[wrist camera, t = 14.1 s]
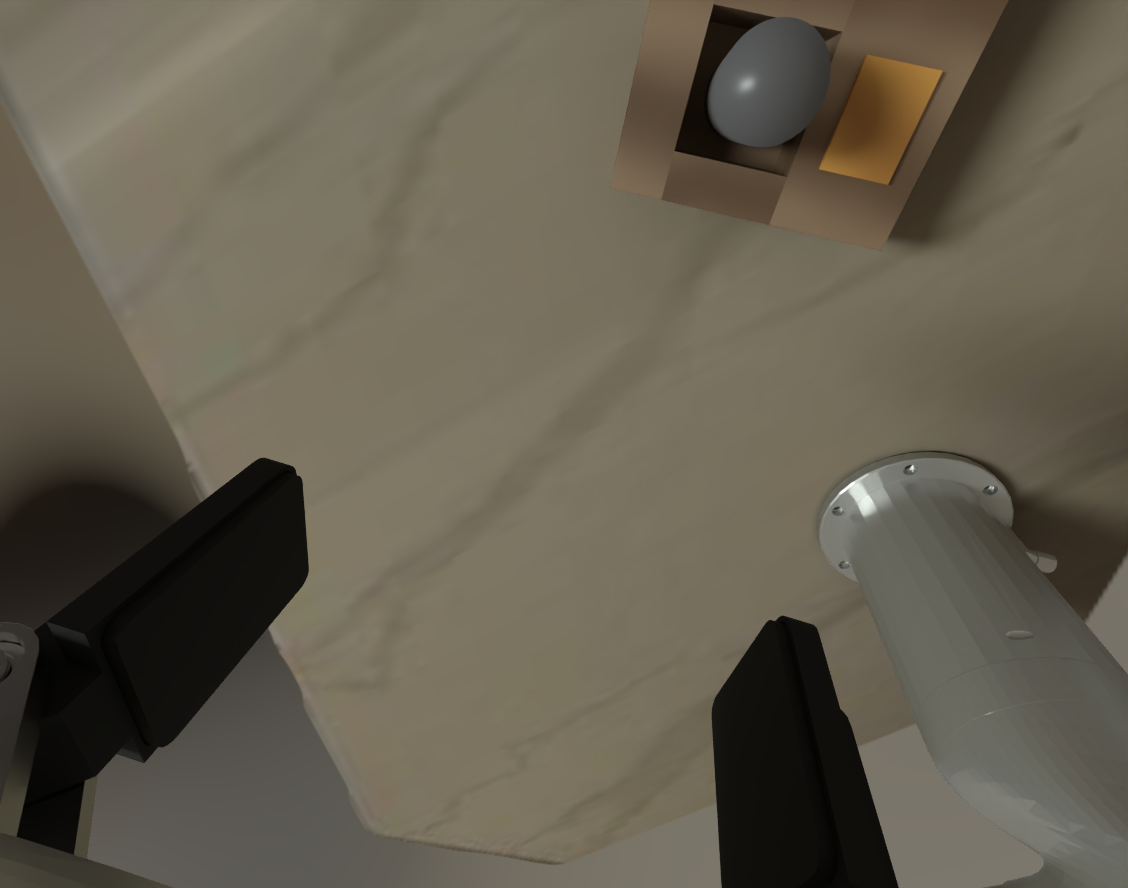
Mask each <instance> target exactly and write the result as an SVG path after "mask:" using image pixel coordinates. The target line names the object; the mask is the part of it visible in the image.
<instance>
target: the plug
mask: <svg viewBox="0 0 1128 888" xmlns="http://www.w3.org/2000/svg"><path fill="white" fill-rule="evenodd" d="M830 74H831V62H830V56H829V52H828V48H827V45H826V43H825V41H824V39H823V38H822V36H821V35H820V33H819V32H818V31H817V30H816V29H815V28H814V27H813V26H812V25H810V24H809V23H807V22H805V21H803V20H801V19H797V18H793V17H778V18H773V19H770V20H767V21H764V22H762V23H760V24H758V25H756V26H755V27H753V28H752V29H750V30H749V31H748V32H747V33H745V34H744V35H743V36H742V37H741V38H740V39H739V40H738V41H737V43H736V44H735V45H734V46H733V48H732V49H731V50H730V52H729V53H728V54H727V56H726V57H725V58H724V59H723V61H722V62H721V63H720V65H719V66H718V67H717V69H716V70H715V71H714V73H713V75H712V76H711V78H710V80H709V83H708V85H707V88H706V92H705V98H704V109H705V115H706V119H707V121H708V124H709V125H710V127H711V129H712V130H713V131H714V132H715V133H716V134H717V135H718V136H720V137H721V138H723V139H725V140H728V141H732V142H736V143H740V144H744V145H748V146H752V147H771V146H775V145H779V144H781V143H784V142H786V141H788V140H790V139H791V138H793V137H795V136H796V135H797V134H799V133H800V132H801V131H802V130H803V129H804V128H805V127H806V126H807V125H808V124H809V123H810V122H811V121H812V120H813V118H814V117H815V115H816V114H817V112H818V111H819V109H820V107H821V105H822V103H823V101H824V99H825V96H826V93H827V90H828V86H829V82H830Z"/></svg>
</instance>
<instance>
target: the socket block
mask: <svg viewBox="0 0 1128 888" xmlns="http://www.w3.org/2000/svg"><path fill="white" fill-rule="evenodd" d="M1008 1H1009V0H650V4H649V9H648V14H647V18H646V23H645V27H644V32H643V37H642V41H641V46H640V51H639V55H638V60H637V65H636V69H635V74H634V79H633V83H632V88H631V93H630V97H629V102H628V107H627V111H626V116H625V120H624V125H623V130H622V134H621V139H620V144H619V148H618V153H617V158H616V162H615V167H614V172H613V176H612V181H611V186H610V188H614V189H618V190H622V191H626V192H631V193H635V194H639V195H644V196H648V197H652V198H656V199H661V200H665V201H669V202H673V203H678V204H682V205H686V206H691V207H695V208H699V209H703V210H708V211H712V212H716V213H721V214H725V215H729V216H733V217H738V218H742V219H746V220H750V221H755V222H759V223H763V224H768V225H772V226H776V227H780V228H785V229H789V230H793V231H798V232H802V233H806V234H810V235H815V236H819V237H823V238H827V239H832V240H836V241H840V242H845V243H849V244H853V245H857V246H862V247H866V248H870V249H875V250H879V251H881V250H882V249H883V247H884V245H885V243H886V241H887V239H888V237H889V235H890V233H891V231H892V229H893V227H894V225H895V223H896V221H897V219H898V217H899V215H900V213H901V211H902V209H903V207H904V205H905V203H906V201H907V199H908V197H909V195H910V193H911V191H912V189H913V188H914V186H915V184H916V182H917V180H918V178H919V176H920V174H921V172H922V170H923V168H924V166H925V164H926V162H927V160H928V158H929V156H930V154H931V152H932V150H933V148H934V146H935V144H936V142H937V140H938V138H939V136H940V134H941V132H942V130H943V129H944V127H945V125H946V123H947V121H948V119H949V117H950V115H951V113H952V111H953V109H954V107H955V105H956V103H957V101H958V99H959V97H960V95H961V93H962V91H963V89H964V87H965V85H966V83H967V81H968V79H969V77H970V75H971V73H972V71H973V69H974V68H975V66H976V64H977V62H978V60H979V58H980V56H981V54H982V52H983V50H984V48H985V46H986V44H987V42H988V40H989V38H990V36H991V34H992V32H993V30H994V28H995V26H996V24H997V22H998V20H999V18H1000V16H1001V14H1002V12H1003V10H1004V8H1005V7H1006V5H1007V3H1008ZM778 17H793V18H797V19H801V20H803V21H805V22H807V23H809V24H810V25H812V26H813V27H814V28H815V29H816V30H817V31H818V32H819V33H820V35H821V36H822V38H823V39H824V41H825V43H826V45H827V48H828V52H829V56H830V62H831V74H830V82H829V86H828V90H827V93H826V96H825V99H824V101H823V103H822V105H821V107H820V109H819V111H818V112H817V114H816V115H815V117H814V118H813V120H812V121H811V122H810V123H809V124H808V125H807V126H806V127H805V128H804V129H803V130H802V131H801V132H800V133H799V134H797V135H796V136H795V137H793V138H791V139H790V140H788V141H786V142H784V143H781V144H779V145H775V146H771V147H752V146H748V145H744V144H740V143H736V142H732V141H728V140H725V139H723V138H721V137H720V136H718V135H717V134H716V133H715V132H714V131H713V130H712V129H711V127H710V125H709V124H708V121H707V119H706V115H705V109H704V98H705V92H706V88H707V85H708V83H709V80H710V78H711V76H712V75H713V73H714V71H715V70H716V69H717V67H718V66H719V65H720V63H721V62H722V61H723V59H724V58H725V57H726V56H727V54H728V53H729V52H730V50H731V49H732V48H733V46H734V45H735V44H736V43H737V41H738V40H739V39H740V38H741V37H742V36H743V35H744V34H745V33H747V32H748V31H749V30H750V29H752V28H753V27H755V26H756V25H758V24H760V23H762V22H764V21H767V20H770V19H773V18H778Z"/></svg>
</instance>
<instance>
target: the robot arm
mask: <svg viewBox="0 0 1128 888" xmlns="http://www.w3.org/2000/svg"><path fill="white" fill-rule="evenodd" d="M1013 515H1014V509H1013V504H1012V500H1011V497H1010V495H1009V493H1008V491H1007V490H1006V488H1005V486H1004V485H1003V484H1002V483H1001V482H1000V481H999V480H998V479H997V477H996V476H995V475H994V474H993V473H991V472H990V471H989V470H987V469H986V468H985V467H983V466H982V465H981V464H978V463H976V462H974V461H972V460H970V459H968V458H965V457H961V456H957V455H953V454H949V453H938V452H917V453H907V454H902V455H897V456H892V457H889V458H886V459H883V460H880V461H877V462H874V463H872V464H870V465H868V466H866V467H864V468H862V469H860V470H858V471H856V472H855V473H853V474H852V475H850V476H849V477H848V478H846V479H845V480H843V481H842V482H841V483H840V484H839V485H838V486H837V487H836V488H835V489H834V490H833V491H832V492H831V493H830V495H829V496H828V498H827V499H826V501H825V502H824V504H823V506H822V508H821V511H820V513H819V516H818V522H817V534H818V540H819V543H820V546H821V549H822V552H823V554H824V555H825V557H826V559H827V560H828V562H829V563H830V564H831V565H832V566H833V568H834V569H835V570H837V571H838V572H839V573H841V574H842V575H844V576H845V577H847V578H848V579H851V580H853V581H855V582H857V583H859V585H860V588H861V590H862V593H863V595H864V598H865V600H866V602H867V605H868V607H869V610H870V612H871V615H872V617H873V619H874V622H875V624H876V627H877V629H878V632H879V634H880V636H881V639H882V641H883V644H884V646H885V649H886V651H887V653H888V656H889V658H890V661H891V663H892V666H893V668H894V670H895V673H896V675H897V678H898V680H899V683H900V685H901V687H902V690H903V692H904V695H905V697H906V700H907V702H908V704H909V707H910V709H911V712H912V714H913V716H914V719H915V721H916V724H917V726H918V728H919V730H920V733H921V735H922V737H923V740H924V742H925V745H926V747H927V750H928V752H929V754H930V756H931V758H932V760H933V762H934V764H935V766H936V767H937V769H938V770H939V772H940V773H941V775H942V776H943V778H944V780H945V781H946V782H947V783H948V784H949V786H950V787H951V788H952V789H953V791H954V792H955V793H956V794H957V795H958V796H959V797H960V798H961V799H962V800H963V801H964V802H965V803H967V804H968V805H969V806H970V807H971V808H972V809H973V810H975V811H976V812H977V813H978V814H980V815H981V816H982V817H984V818H985V819H986V820H988V821H989V822H991V823H992V824H994V825H995V826H996V827H998V828H999V829H1001V830H1002V831H1004V832H1005V833H1007V834H1008V835H1010V836H1011V837H1013V838H1014V839H1016V840H1018V841H1019V842H1021V843H1022V844H1024V845H1026V846H1027V847H1029V848H1030V849H1032V850H1033V851H1035V852H1037V853H1038V854H1040V855H1041V857H1042V858H1043V861H1044V865H1043V867H1042V868H1041V870H1040V871H1039V872H1037V873H1035V874H1033V875H1030V876H1026V877H1022V878H1018V879H1014V880H1009V881H1006V882H1004V883H1003V884H1001V885H996V886H990V887H984V888H1128V674H1127V673H1126V672H1125V671H1124V669H1123V668H1122V667H1121V666H1120V665H1119V663H1118V662H1117V661H1116V660H1115V659H1114V658H1113V656H1112V655H1111V654H1110V653H1109V651H1108V650H1107V649H1106V648H1105V647H1104V646H1103V644H1102V643H1101V642H1100V641H1099V640H1098V638H1097V637H1096V636H1095V635H1094V634H1093V632H1092V631H1091V630H1090V629H1089V628H1088V626H1087V625H1086V624H1085V623H1084V622H1083V620H1082V619H1081V618H1080V617H1079V616H1078V614H1077V613H1076V612H1075V611H1074V610H1073V609H1072V607H1071V606H1070V605H1069V604H1068V603H1067V601H1066V600H1065V599H1064V598H1063V597H1062V595H1061V594H1060V593H1059V592H1058V591H1057V589H1056V588H1055V587H1054V586H1053V585H1052V583H1051V582H1050V581H1049V580H1048V579H1047V577H1046V576H1045V575H1044V574H1043V573H1051V572H1053V571H1054V570H1055V568H1056V567H1057V560H1056V558H1055V556H1053V555H1052V554H1049V553H1045V552H1041V551H1037V550H1033V549H1027V547H1026V546H1025V545H1024V544H1023V543H1022V542H1021V540H1020V539H1019V538H1018V537H1017V536H1016V535H1015V533H1014V532H1013V531H1012V530H1011V527H1012V524H1013ZM308 572H309V565H308V551H307V538H306V524H305V510H304V497H303V483H302V478H301V477H300V476H297V474H296V470H295V468H294V467H293V466H290V465H287V464H284V463H280V462H277V461H274V460H270V459H267V458H260V459H258V460H256V461H254V462H253V463H252V464H251V465H249V466H248V467H247V468H245V469H244V470H243V471H241V472H240V473H239V474H238V475H236V476H235V477H234V478H232V479H231V480H230V481H228V482H227V483H226V484H225V485H223V486H222V487H221V488H219V489H218V490H217V491H216V492H214V493H213V494H212V495H210V496H209V497H208V498H206V499H205V500H204V501H203V502H201V503H200V504H199V505H197V506H196V507H195V508H193V509H192V510H191V511H190V512H188V513H187V514H186V515H185V516H183V517H182V518H180V519H179V520H178V521H177V522H175V523H174V524H173V525H171V526H170V527H169V528H167V529H166V530H165V531H164V532H162V533H161V534H160V535H158V536H157V537H156V538H154V539H153V540H152V541H151V542H149V543H148V544H147V545H145V546H144V547H143V548H141V549H140V550H139V551H138V552H136V553H135V554H134V555H132V556H131V557H130V558H128V559H127V560H126V561H125V562H123V563H122V564H121V565H119V566H118V567H117V568H115V569H114V570H113V571H112V572H110V573H109V574H108V575H107V576H105V577H104V578H102V579H101V580H100V581H99V582H97V583H96V584H95V585H93V586H92V587H91V588H89V589H88V590H87V591H86V592H84V593H83V594H82V595H80V596H79V597H78V598H76V599H75V600H74V601H73V602H71V603H70V604H69V605H67V606H66V607H65V608H63V609H62V610H61V611H60V612H58V613H57V614H56V615H54V616H53V617H52V618H50V619H49V620H48V621H47V622H46V623H44V624H43V625H42V626H40V627H39V628H38V629H36V630H35V631H33V630H32V629H30V628H28V627H26V626H23V625H21V624H16V623H5V622H0V888H173V887H170V886H167V885H164V884H160V883H158V882H155V881H152V880H149V879H146V878H143V877H140V876H137V875H134V874H131V873H128V872H125V871H123V870H120V869H116V868H114V867H110V866H107V865H104V864H101V863H98V862H94V861H91V860H88V859H87V854H88V847H89V840H90V832H91V825H92V817H93V810H94V802H95V795H96V787H97V780H98V773H99V772H100V771H101V770H102V769H103V768H104V767H105V766H106V764H107V763H108V762H109V761H110V760H111V759H112V758H113V757H114V756H115V755H116V754H118V755H121V756H125V757H127V758H131V759H133V760H136V761H139V762H142V763H145V761H146V760H147V759H148V758H149V757H150V756H151V755H152V754H153V752H154V751H155V750H156V748H158V747H164V746H167V745H168V744H169V743H171V742H172V741H173V740H174V739H175V738H176V737H177V736H178V735H179V734H180V732H181V731H182V730H183V729H184V727H185V726H186V725H187V724H188V723H189V721H190V720H191V719H192V718H193V717H194V715H195V714H196V713H197V712H198V711H199V710H200V708H201V707H202V706H203V705H204V704H205V702H206V701H207V700H208V699H209V698H210V696H211V695H212V694H213V693H214V691H215V690H216V689H217V688H218V687H219V686H220V684H221V683H222V682H223V681H224V679H225V678H226V677H227V676H228V675H229V674H230V672H231V671H232V670H233V669H234V667H235V666H236V665H237V664H238V663H239V662H240V660H241V659H242V658H243V657H244V655H245V654H246V653H247V652H248V651H249V649H250V648H251V647H252V646H253V645H254V643H255V642H256V641H257V640H258V639H259V638H260V636H261V635H262V634H263V633H264V632H265V630H266V629H267V628H268V627H269V626H270V624H271V623H272V622H273V621H274V620H275V618H276V617H277V616H278V615H279V614H280V612H281V611H282V610H283V609H284V608H285V606H286V605H287V604H288V603H289V602H290V600H291V599H292V598H293V597H294V596H295V594H296V593H297V592H298V591H299V590H300V588H301V587H302V586H303V584H304V582H305V581H306V578H307V576H308ZM1042 572H1043V573H1042ZM712 730H713V747H714V764H715V781H716V798H717V812H718V813H717V814H718V832H719V850H720V865H721V884H722V888H899V887H898V884H897V880H896V877H895V874H894V870H893V867H892V863H891V860H890V856H889V853H888V850H887V847H886V843H885V839H884V836H883V833H882V829H881V826H880V822H879V819H878V816H877V812H876V809H875V806H874V802H873V799H872V795H871V792H870V789H869V785H868V782H867V778H866V775H865V772H864V768H863V765H862V761H861V758H860V755H859V751H858V748H857V744H856V741H855V737H854V734H853V731H852V727H851V725H850V722H849V720H848V717H847V716H846V715H845V713H844V712H843V711H842V710H840V706H839V703H838V699H837V696H836V692H835V689H834V685H833V682H832V678H831V675H830V671H829V668H828V664H827V661H826V657H825V654H824V650H823V647H822V643H821V639H820V636H819V633H818V630H817V628H816V627H815V626H814V625H812V624H809V623H806V622H802V621H799V620H796V619H793V618H789V617H786V616H780V617H779V618H778V619H777V620H776V621H772V620H769V621H768V622H767V623H766V624H765V625H764V627H763V628H762V630H761V631H760V633H759V634H758V636H757V637H756V638H755V640H754V641H753V643H752V644H751V646H750V647H749V649H748V650H747V652H746V653H745V655H744V656H743V657H742V659H741V660H740V662H739V663H738V665H737V666H736V668H735V669H734V671H733V672H732V674H731V675H730V677H729V678H728V679H727V681H726V682H725V684H724V685H723V687H722V688H721V690H720V691H719V693H718V694H717V696H716V697H715V700H714V703H713V707H712Z"/></svg>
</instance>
